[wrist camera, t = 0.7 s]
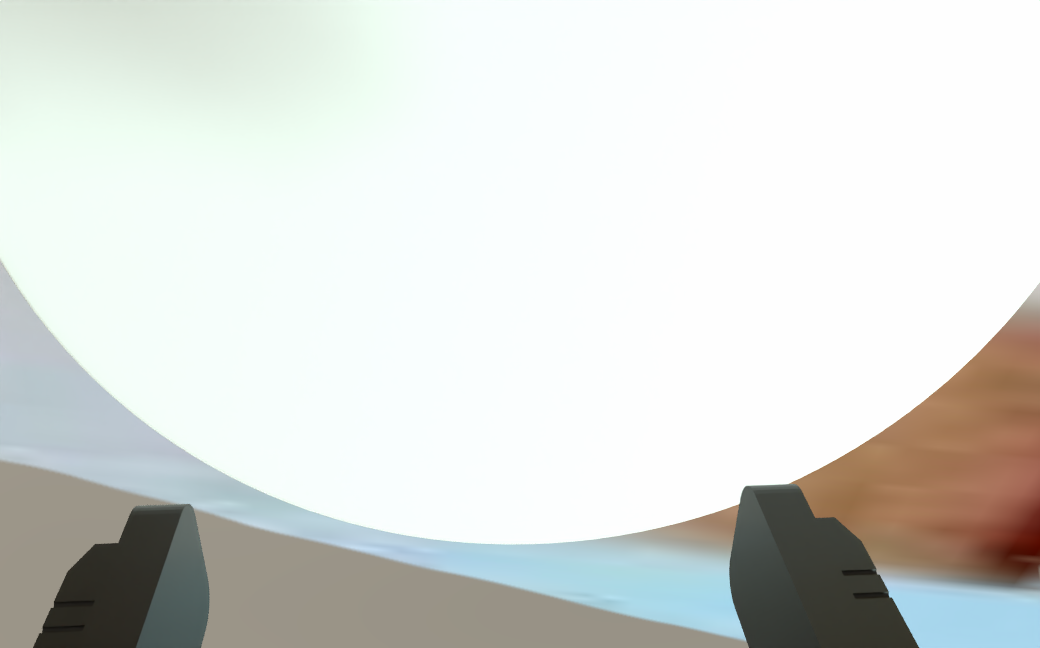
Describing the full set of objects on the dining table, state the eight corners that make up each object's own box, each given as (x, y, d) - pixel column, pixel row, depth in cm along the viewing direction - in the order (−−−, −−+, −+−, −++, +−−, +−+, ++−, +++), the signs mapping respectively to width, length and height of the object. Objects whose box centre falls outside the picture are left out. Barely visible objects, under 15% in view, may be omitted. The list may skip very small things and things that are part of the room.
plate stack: (-71, 54, 32) (-268, 243, 23) (465, -939, 20) (491, -1349, 11) (551, 427, 45) (581, 645, 36) (1108, -52, 33) (1366, 91, 24)
